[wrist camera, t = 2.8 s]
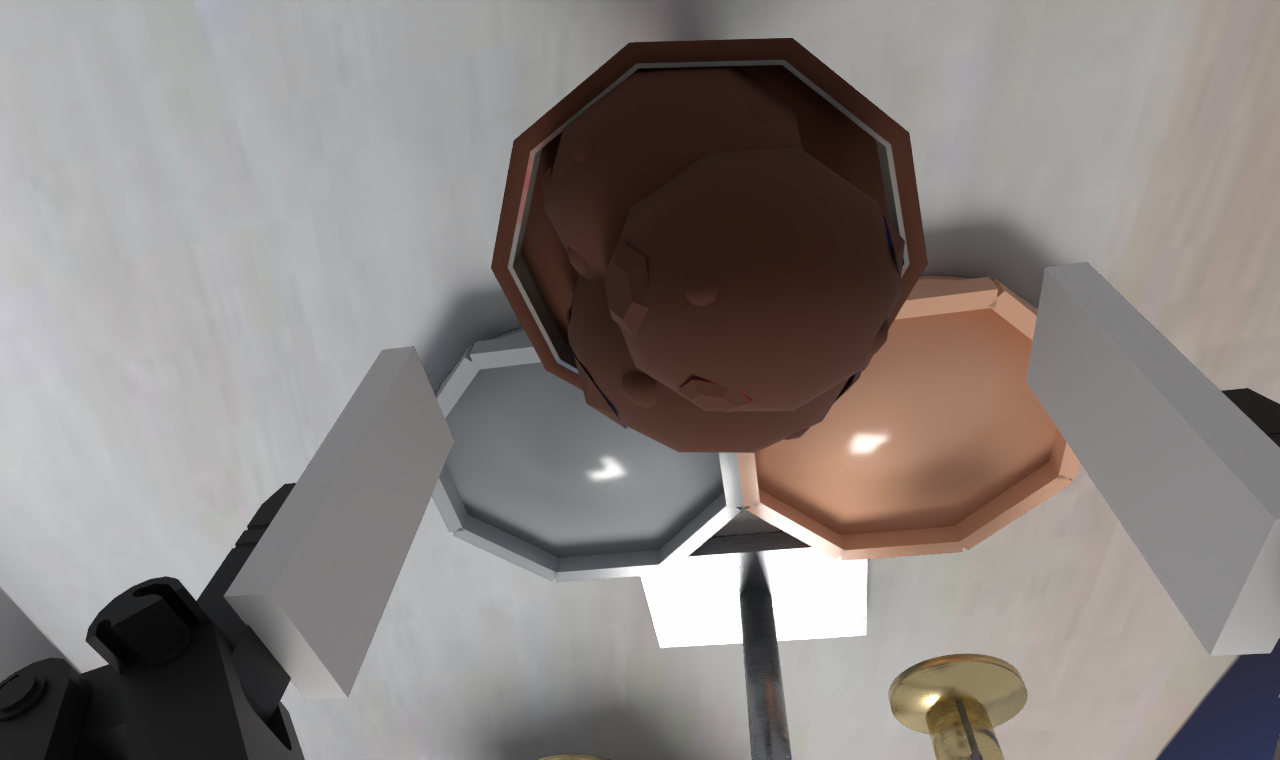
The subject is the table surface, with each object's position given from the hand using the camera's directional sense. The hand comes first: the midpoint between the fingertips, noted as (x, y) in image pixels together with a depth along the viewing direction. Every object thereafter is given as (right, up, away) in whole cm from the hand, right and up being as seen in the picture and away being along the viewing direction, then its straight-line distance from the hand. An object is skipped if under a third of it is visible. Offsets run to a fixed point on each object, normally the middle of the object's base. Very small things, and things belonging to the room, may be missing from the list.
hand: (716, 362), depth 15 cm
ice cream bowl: (+1, +8, +11) cm, 14 cm away
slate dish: (-4, -4, +20) cm, 20 cm away
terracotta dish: (+10, -2, +18) cm, 20 cm away
